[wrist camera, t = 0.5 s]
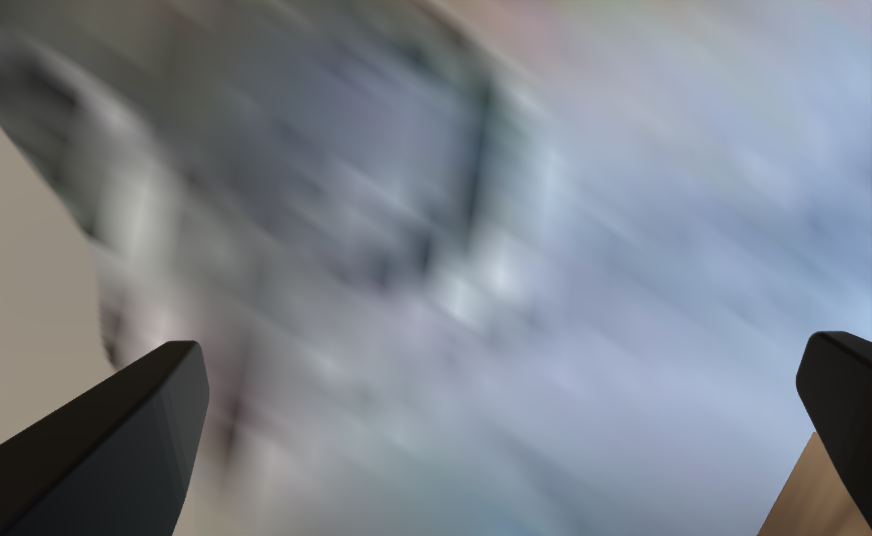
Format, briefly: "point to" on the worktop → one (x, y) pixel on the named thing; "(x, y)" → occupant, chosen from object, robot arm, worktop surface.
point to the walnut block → (814, 500)
